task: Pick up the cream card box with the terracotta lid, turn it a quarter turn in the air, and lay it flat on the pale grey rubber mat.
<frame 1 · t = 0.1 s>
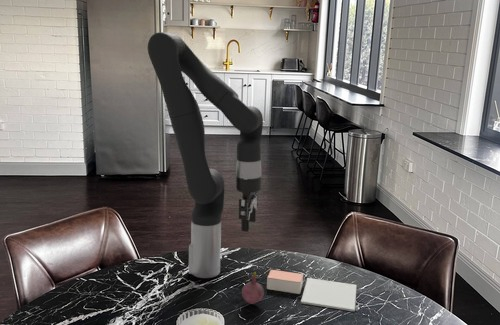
hand: (248, 226, 146), 17 cm above the table, tool pointing down, fingers open, 8 cm apart
vegetable: (252, 305, 134), on the table
mat: (329, 294, 141), on the table
card box: (284, 287, 145), on the table
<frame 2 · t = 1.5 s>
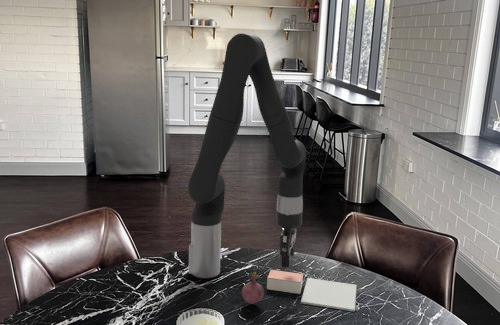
hand: (287, 260, 143), 9 cm above the table, tool pointing down, fingers open, 8 cm apart
nothing on the table moved.
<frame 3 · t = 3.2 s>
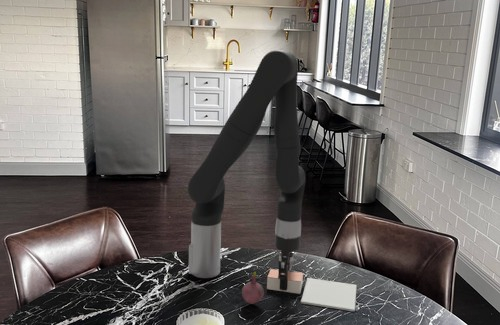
hand: (285, 284, 145), 1 cm above the table, tool pointing down, fingers closed on card box, 5 cm apart
card box: (284, 287, 145), on the table, touching gripper
everything else where it was.
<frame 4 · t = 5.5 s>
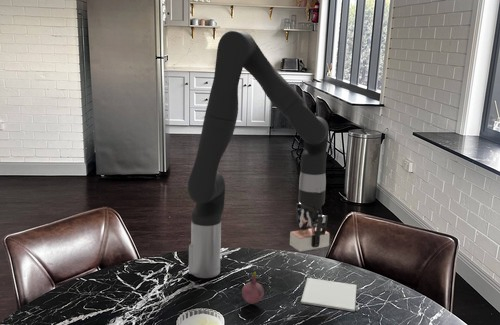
hand: (309, 242, 140), 15 cm above the table, tool pointing down, fingers closed on card box, 5 cm apart
card box: (309, 245, 140), point 14 cm above the table, touching gripper
everything else where it was.
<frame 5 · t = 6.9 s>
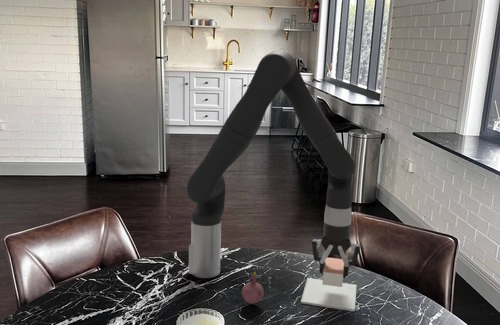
hand: (333, 275, 139), 6 cm above the table, tool pointing down, fingers closed on card box, 5 cm apart
card box: (333, 278, 140), point 6 cm above the table, touching gripper
everything else where it was.
when the fingers open (2 cm above the table, at t = 8.0 s): card box drops 1 cm, resting on mat.
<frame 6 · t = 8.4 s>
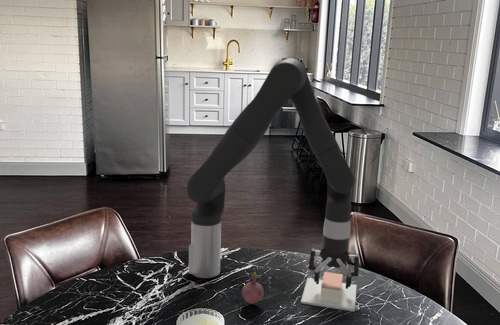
hand: (332, 285, 140), 3 cm above the table, tool pointing down, fingers open, 8 cm apart
card box: (331, 293, 141), point 1 cm above the table, touching mat
everything else where it was.
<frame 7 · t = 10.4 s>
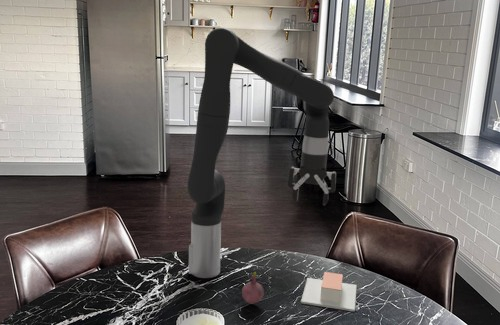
hand: (310, 202, 146), 25 cm above the table, tool pointing down, fingers open, 8 cm apart
nothing on the table moved.
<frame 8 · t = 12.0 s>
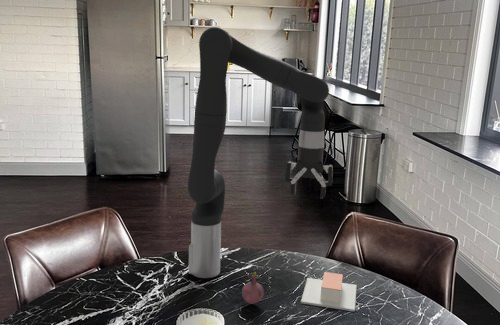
hand: (307, 196, 147), 26 cm above the table, tool pointing down, fingers open, 8 cm apart
nothing on the table moved.
at the end: card box inside the target area on the mat (0.4 cm from its centre), point 0.6 cm above the mat's base; card box tilted 0°; the gripper is holding nothing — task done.
